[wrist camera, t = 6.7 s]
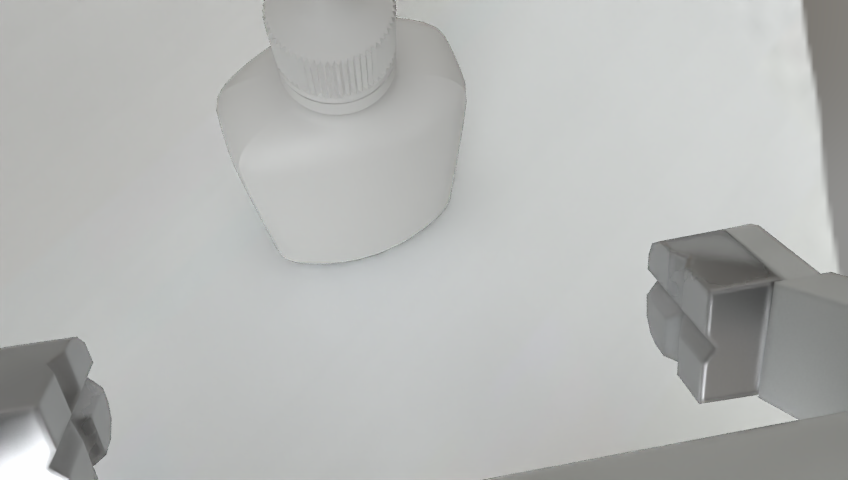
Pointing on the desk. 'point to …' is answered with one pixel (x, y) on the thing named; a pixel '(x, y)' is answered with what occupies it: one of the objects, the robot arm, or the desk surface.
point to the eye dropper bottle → (345, 127)
